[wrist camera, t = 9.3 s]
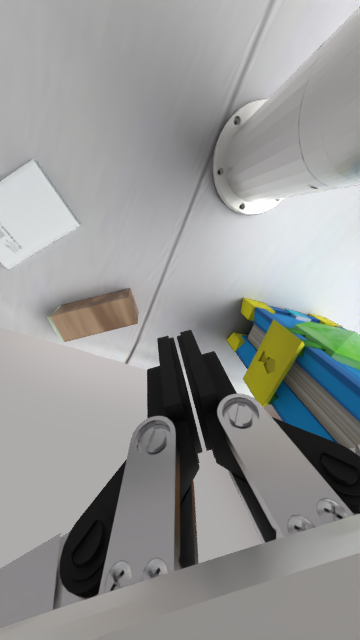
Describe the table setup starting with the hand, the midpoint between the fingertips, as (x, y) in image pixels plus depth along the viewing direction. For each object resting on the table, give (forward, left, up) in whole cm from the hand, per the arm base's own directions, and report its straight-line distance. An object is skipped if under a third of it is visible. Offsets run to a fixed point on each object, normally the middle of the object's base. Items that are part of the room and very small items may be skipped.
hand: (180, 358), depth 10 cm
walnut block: (+5, +5, -23) cm, 24 cm away
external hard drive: (+16, -10, -26) cm, 32 cm away
